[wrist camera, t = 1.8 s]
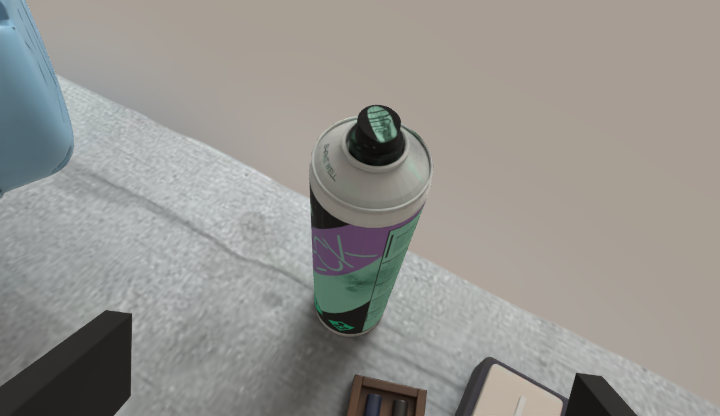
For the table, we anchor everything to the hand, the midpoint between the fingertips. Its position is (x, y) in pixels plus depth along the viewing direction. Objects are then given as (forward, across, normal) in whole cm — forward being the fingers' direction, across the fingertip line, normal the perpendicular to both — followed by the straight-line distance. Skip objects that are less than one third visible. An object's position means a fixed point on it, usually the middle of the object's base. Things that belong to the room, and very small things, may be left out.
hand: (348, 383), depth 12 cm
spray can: (+20, 0, -7) cm, 21 cm away
